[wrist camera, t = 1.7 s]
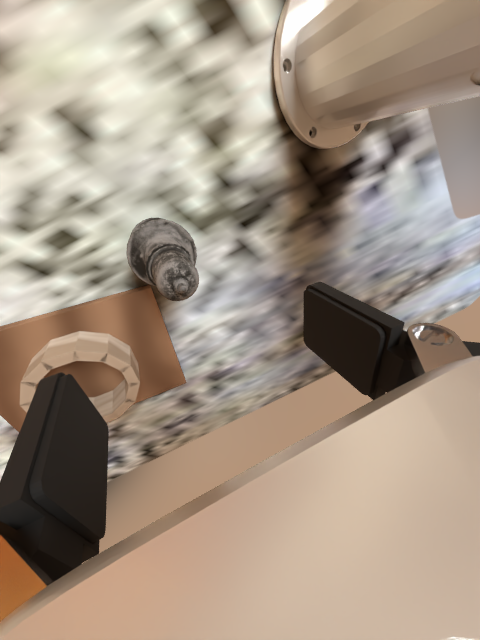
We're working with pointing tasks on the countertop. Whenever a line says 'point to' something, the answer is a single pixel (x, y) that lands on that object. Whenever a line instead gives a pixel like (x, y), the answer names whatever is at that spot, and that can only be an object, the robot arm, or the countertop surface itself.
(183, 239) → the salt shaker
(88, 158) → the countertop surface
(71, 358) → the board
